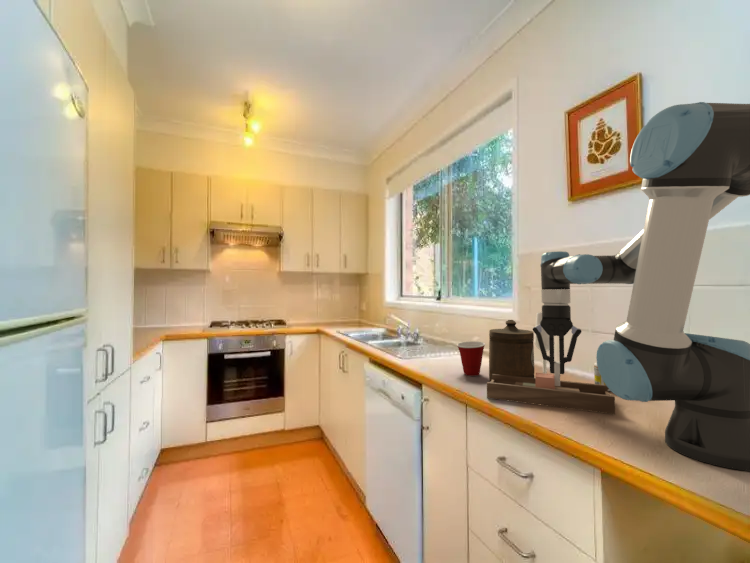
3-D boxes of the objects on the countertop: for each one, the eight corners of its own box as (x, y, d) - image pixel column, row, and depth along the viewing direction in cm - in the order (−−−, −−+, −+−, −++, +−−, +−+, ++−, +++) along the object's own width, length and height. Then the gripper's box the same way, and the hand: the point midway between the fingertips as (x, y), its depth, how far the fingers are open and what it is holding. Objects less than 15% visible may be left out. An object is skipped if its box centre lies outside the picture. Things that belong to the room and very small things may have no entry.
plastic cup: (451, 372, 135) (450, 342, 136) (472, 369, 140) (472, 340, 140) (469, 379, 125) (469, 346, 126) (492, 375, 130) (491, 343, 130)
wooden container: (544, 386, 115) (543, 320, 116) (507, 390, 111) (505, 322, 112) (515, 375, 130) (514, 317, 130) (480, 379, 125) (479, 318, 126)
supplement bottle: (617, 389, 111) (616, 357, 111) (611, 392, 108) (611, 360, 108) (598, 385, 115) (597, 355, 116) (591, 388, 112) (591, 357, 112)
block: (554, 392, 99) (554, 378, 99) (535, 390, 101) (535, 376, 101) (554, 387, 103) (554, 374, 103) (536, 385, 105) (535, 372, 105)
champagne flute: (550, 376, 128) (549, 312, 129) (558, 381, 122) (557, 313, 122) (532, 376, 129) (530, 312, 130) (538, 380, 122) (537, 313, 123)
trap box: (615, 414, 89) (614, 396, 89) (486, 397, 103) (486, 382, 103) (607, 400, 100) (607, 385, 100) (492, 387, 114) (492, 373, 114)
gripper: (580, 304, 102) (582, 384, 101) (532, 303, 107) (533, 379, 107) (582, 305, 95) (584, 391, 94) (531, 304, 101) (532, 385, 100)
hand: (557, 384), depth 101 cm, fingers closed
